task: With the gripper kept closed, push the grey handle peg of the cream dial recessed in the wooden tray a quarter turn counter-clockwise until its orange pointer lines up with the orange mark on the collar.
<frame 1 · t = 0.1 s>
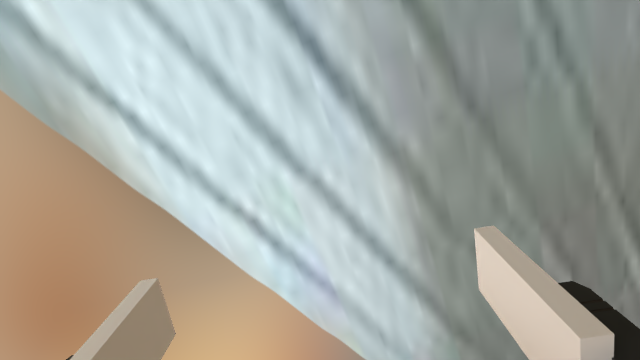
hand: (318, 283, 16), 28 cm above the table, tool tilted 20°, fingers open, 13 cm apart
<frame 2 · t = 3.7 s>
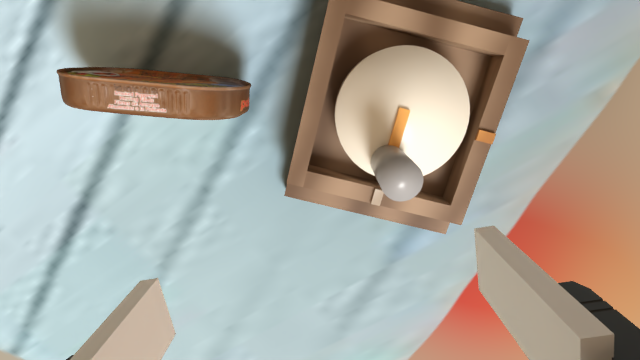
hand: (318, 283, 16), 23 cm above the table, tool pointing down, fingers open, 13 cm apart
dial: (406, 118, 30), point 7 cm above the table, hinge at 0.0°
wooden tray: (392, 110, 36), on the table
tin: (178, 90, 36), on the table
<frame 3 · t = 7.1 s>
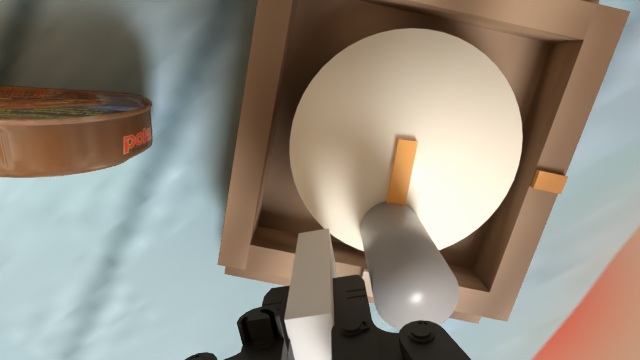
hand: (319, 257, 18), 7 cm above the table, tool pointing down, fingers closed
dial: (412, 160, 17), point 7 cm above the table, hinge at 4.7°, touching gripper
wooden tray: (389, 135, 23), on the table
tin: (54, 114, 23), on the table
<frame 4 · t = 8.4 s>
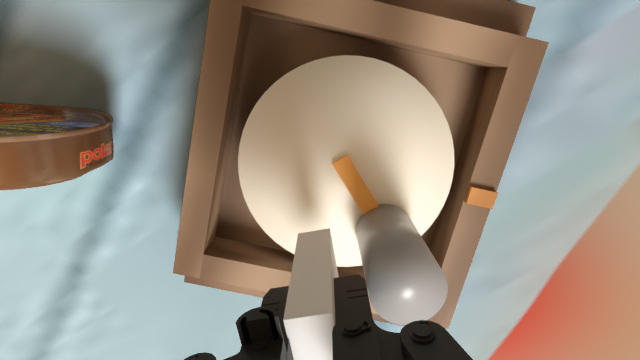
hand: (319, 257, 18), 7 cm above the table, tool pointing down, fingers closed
dial: (347, 177, 18), point 7 cm above the table, hinge at 44.2°
wooden tray: (341, 151, 24), on the table
tin: (23, 128, 24), on the table
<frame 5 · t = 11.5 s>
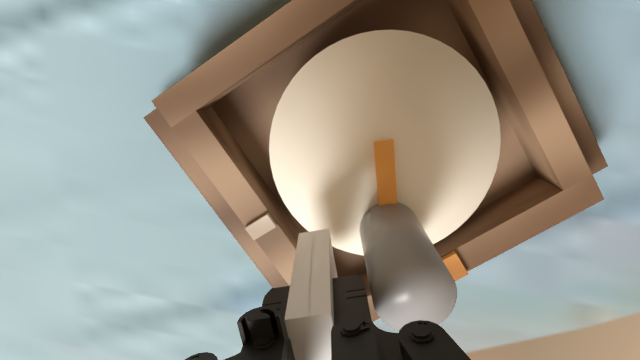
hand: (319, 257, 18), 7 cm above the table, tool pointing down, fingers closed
dial: (389, 160, 17), point 7 cm above the table, hinge at 63.7°, touching gripper
wooden tray: (372, 135, 23), on the table
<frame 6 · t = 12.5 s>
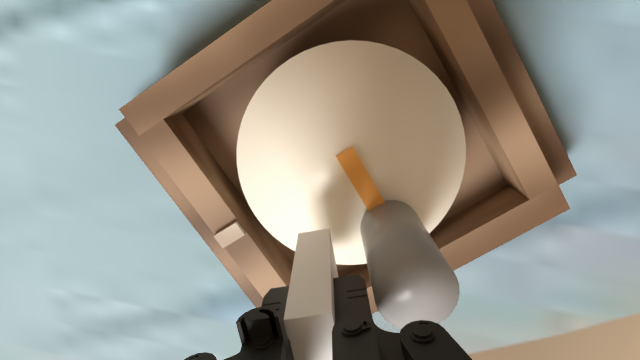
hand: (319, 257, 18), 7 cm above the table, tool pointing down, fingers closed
dial: (352, 170, 17), point 7 cm above the table, hinge at 88.5°, touching gripper
wooden tray: (345, 143, 23), on the table
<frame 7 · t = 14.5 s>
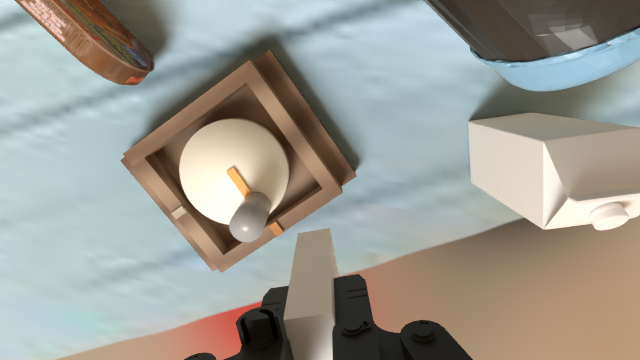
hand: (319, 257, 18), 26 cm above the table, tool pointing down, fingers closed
milk carton: (499, 147, 44), on the table
dial: (229, 178, 37), point 7 cm above the table, hinge at 88.5°
wooden tray: (242, 164, 44), on the table
tin: (104, 26, 41), on the table
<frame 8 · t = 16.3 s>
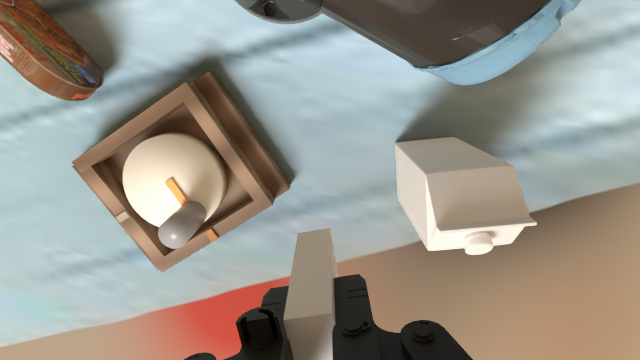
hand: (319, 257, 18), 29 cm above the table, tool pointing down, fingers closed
milk carton: (424, 167, 47), on the table
dial: (165, 189, 41), point 7 cm above the table, hinge at 88.5°
wooden tray: (187, 173, 48), on the table
tin: (59, 42, 44), on the table
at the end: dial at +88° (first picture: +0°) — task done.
